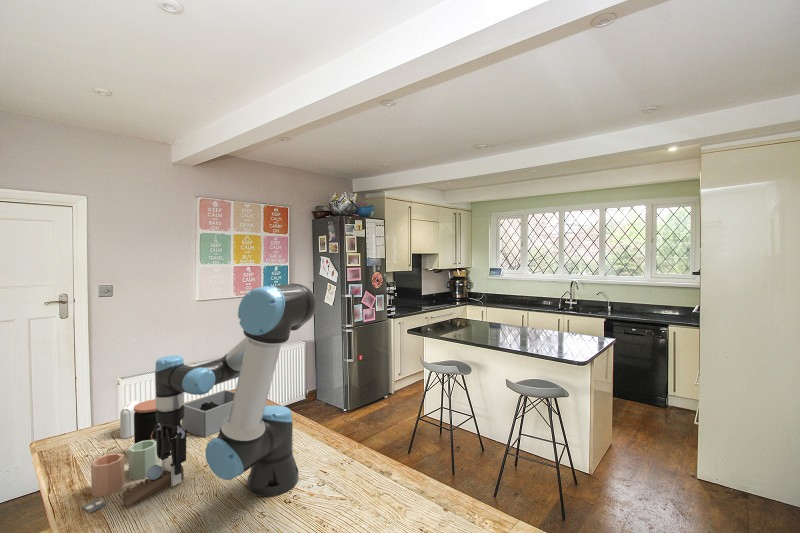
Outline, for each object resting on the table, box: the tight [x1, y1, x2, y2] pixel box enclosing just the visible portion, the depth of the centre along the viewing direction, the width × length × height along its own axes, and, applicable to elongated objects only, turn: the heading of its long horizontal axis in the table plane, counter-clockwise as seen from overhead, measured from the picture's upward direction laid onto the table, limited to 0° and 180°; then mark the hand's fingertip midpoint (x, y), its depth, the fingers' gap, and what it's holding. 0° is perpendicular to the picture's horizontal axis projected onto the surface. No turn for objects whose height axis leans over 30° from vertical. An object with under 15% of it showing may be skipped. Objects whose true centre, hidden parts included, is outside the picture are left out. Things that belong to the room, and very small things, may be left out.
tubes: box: [81, 440, 159, 514], centre depth 118 cm, size 12×22×9 cm, turn 151°
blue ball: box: [146, 464, 162, 480], centre depth 115 cm, size 4×4×4 cm
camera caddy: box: [181, 389, 235, 438], centre depth 162 cm, size 16×21×10 cm
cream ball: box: [164, 456, 173, 472], centre depth 119 cm, size 4×4×4 cm
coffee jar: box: [133, 398, 161, 459], centre depth 137 cm, size 11×11×18 cm
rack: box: [122, 465, 185, 509], centre depth 115 cm, size 2×16×5 cm, turn 151°
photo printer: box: [119, 400, 141, 439], centre depth 153 cm, size 10×4×12 cm, turn 13°
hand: (171, 481), depth 119 cm, fingers open, 4 cm apart
